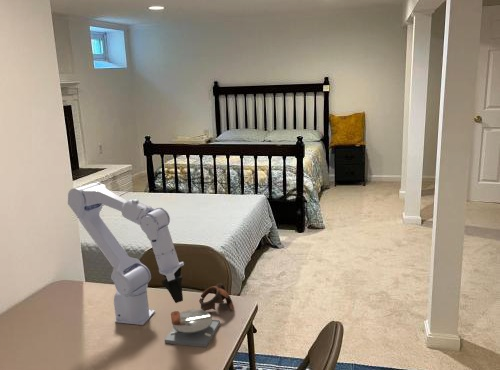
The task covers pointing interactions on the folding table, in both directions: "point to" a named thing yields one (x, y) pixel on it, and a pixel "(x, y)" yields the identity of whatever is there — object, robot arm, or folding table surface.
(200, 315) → the handwheel
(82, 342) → the folding table surface
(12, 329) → the folding table surface
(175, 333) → the wheel base
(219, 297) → the brown curved ring
